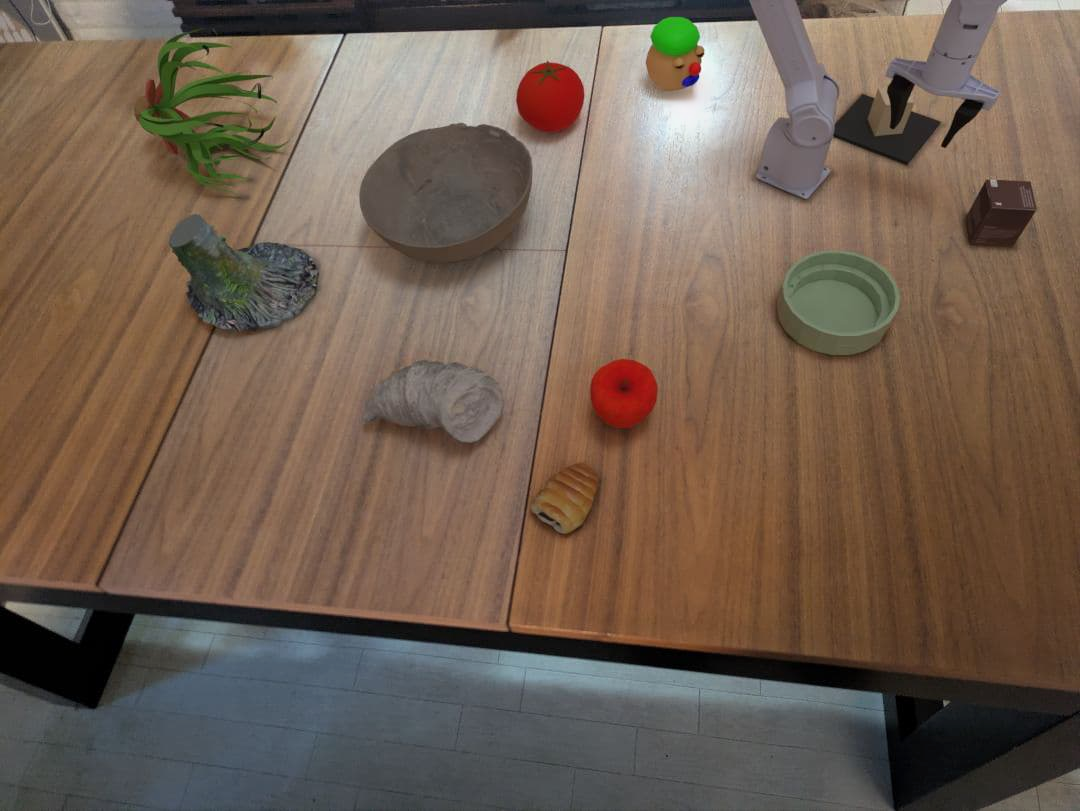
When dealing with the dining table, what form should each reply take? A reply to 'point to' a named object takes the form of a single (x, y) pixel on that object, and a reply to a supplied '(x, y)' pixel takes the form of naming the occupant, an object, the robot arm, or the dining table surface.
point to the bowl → (448, 191)
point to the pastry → (567, 498)
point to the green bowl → (837, 302)
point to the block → (886, 114)
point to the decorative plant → (178, 124)
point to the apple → (623, 393)
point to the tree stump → (242, 278)
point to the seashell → (438, 399)
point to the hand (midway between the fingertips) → (919, 134)
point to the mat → (891, 146)
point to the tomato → (550, 97)
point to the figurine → (674, 54)
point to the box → (1000, 212)
